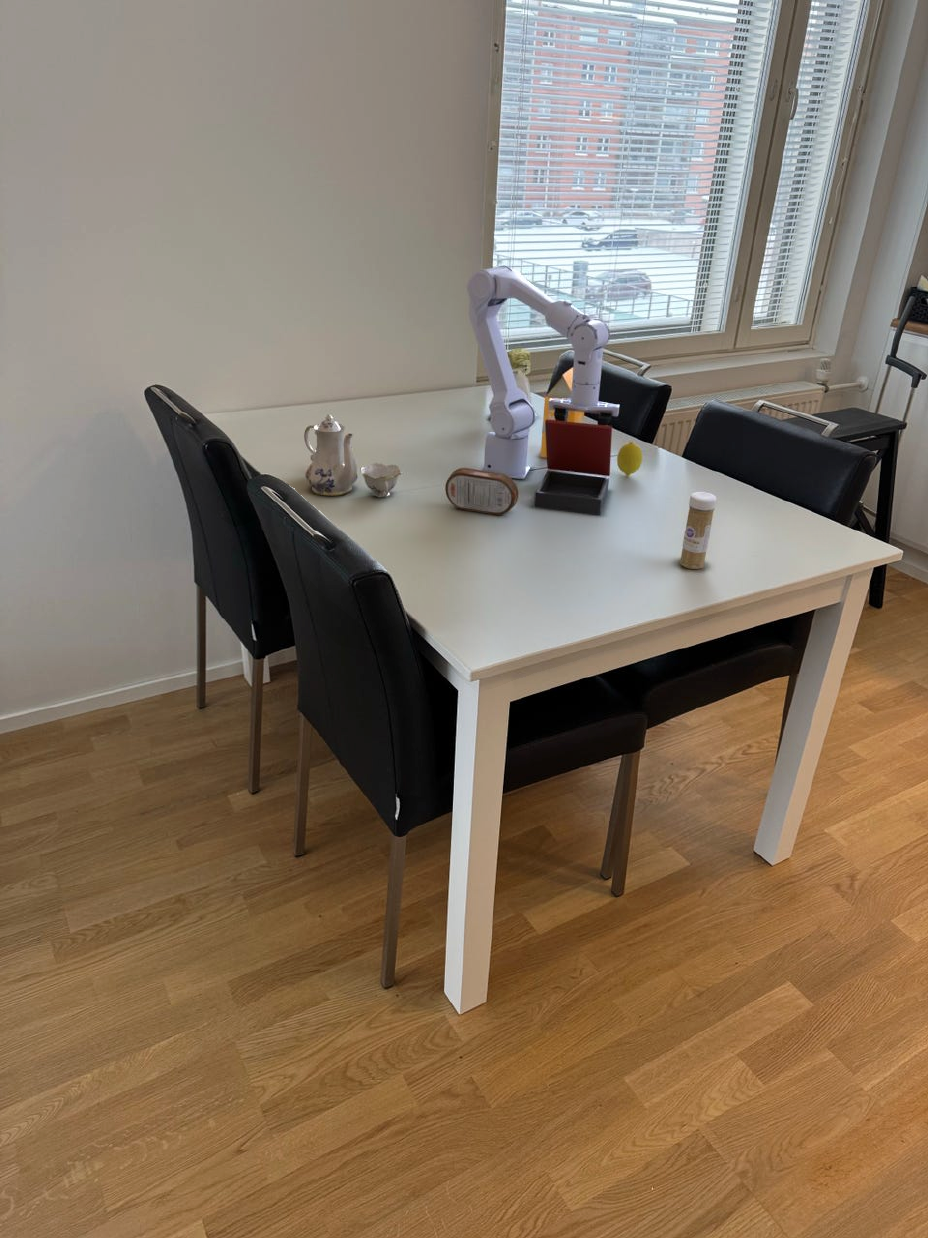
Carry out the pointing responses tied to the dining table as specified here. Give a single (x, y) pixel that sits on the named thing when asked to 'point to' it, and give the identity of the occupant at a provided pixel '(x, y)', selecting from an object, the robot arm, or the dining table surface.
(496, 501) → the tin
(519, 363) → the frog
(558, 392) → the orange juice
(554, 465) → the lid
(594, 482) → the dark grey open tray
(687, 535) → the sprinkles bottle
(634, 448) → the lemon
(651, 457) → the dining table surface
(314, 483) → the chinaware
